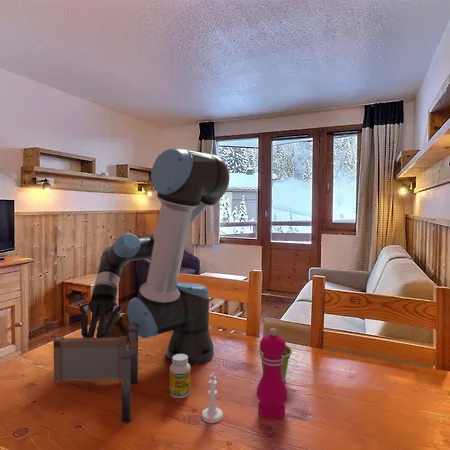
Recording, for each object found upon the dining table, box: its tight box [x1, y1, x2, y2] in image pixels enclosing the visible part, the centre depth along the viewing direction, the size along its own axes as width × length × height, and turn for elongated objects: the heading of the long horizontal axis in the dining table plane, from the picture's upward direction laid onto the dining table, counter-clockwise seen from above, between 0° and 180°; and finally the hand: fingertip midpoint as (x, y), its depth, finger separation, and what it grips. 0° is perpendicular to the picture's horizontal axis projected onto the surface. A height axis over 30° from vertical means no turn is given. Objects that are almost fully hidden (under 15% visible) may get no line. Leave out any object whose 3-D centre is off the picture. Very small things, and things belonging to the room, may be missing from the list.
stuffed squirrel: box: [96, 302, 130, 341], centre depth 121 cm, size 10×14×13 cm
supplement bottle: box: [169, 354, 192, 399], centre depth 87 cm, size 5×5×10 cm
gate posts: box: [120, 322, 139, 424], centre depth 84 cm, size 4×19×17 cm, turn 4°
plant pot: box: [257, 345, 293, 382], centre depth 95 cm, size 9×9×9 cm
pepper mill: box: [256, 327, 288, 421], centre depth 79 cm, size 7×7×20 cm
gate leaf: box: [53, 336, 128, 383], centre depth 91 cm, size 19×2×11 cm, turn 94°
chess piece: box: [201, 372, 224, 424], centre depth 78 cm, size 5×5×10 cm
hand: (89, 361), depth 95 cm, fingers closed
